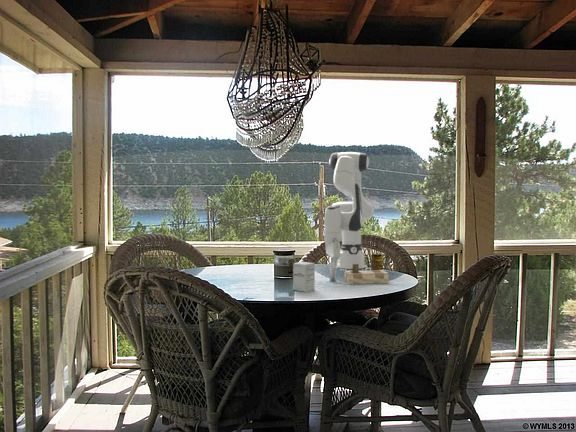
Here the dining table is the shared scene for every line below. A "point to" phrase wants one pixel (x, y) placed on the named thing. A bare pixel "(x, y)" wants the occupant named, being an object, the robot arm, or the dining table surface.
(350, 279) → the hole block
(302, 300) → the dining table surface
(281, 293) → the dining table surface
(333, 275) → the steel peg
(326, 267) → the dining table surface
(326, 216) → the robot arm
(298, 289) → the supplement box
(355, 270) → the walnut peg
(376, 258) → the condiment
